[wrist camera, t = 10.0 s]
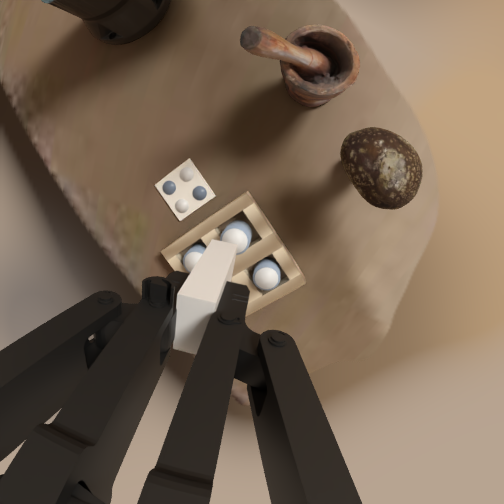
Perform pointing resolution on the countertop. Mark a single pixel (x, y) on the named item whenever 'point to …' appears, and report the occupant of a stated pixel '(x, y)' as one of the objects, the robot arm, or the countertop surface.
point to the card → (185, 189)
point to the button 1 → (193, 256)
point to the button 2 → (237, 235)
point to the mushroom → (382, 167)
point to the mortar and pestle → (308, 60)
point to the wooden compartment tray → (260, 247)
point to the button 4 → (267, 274)
